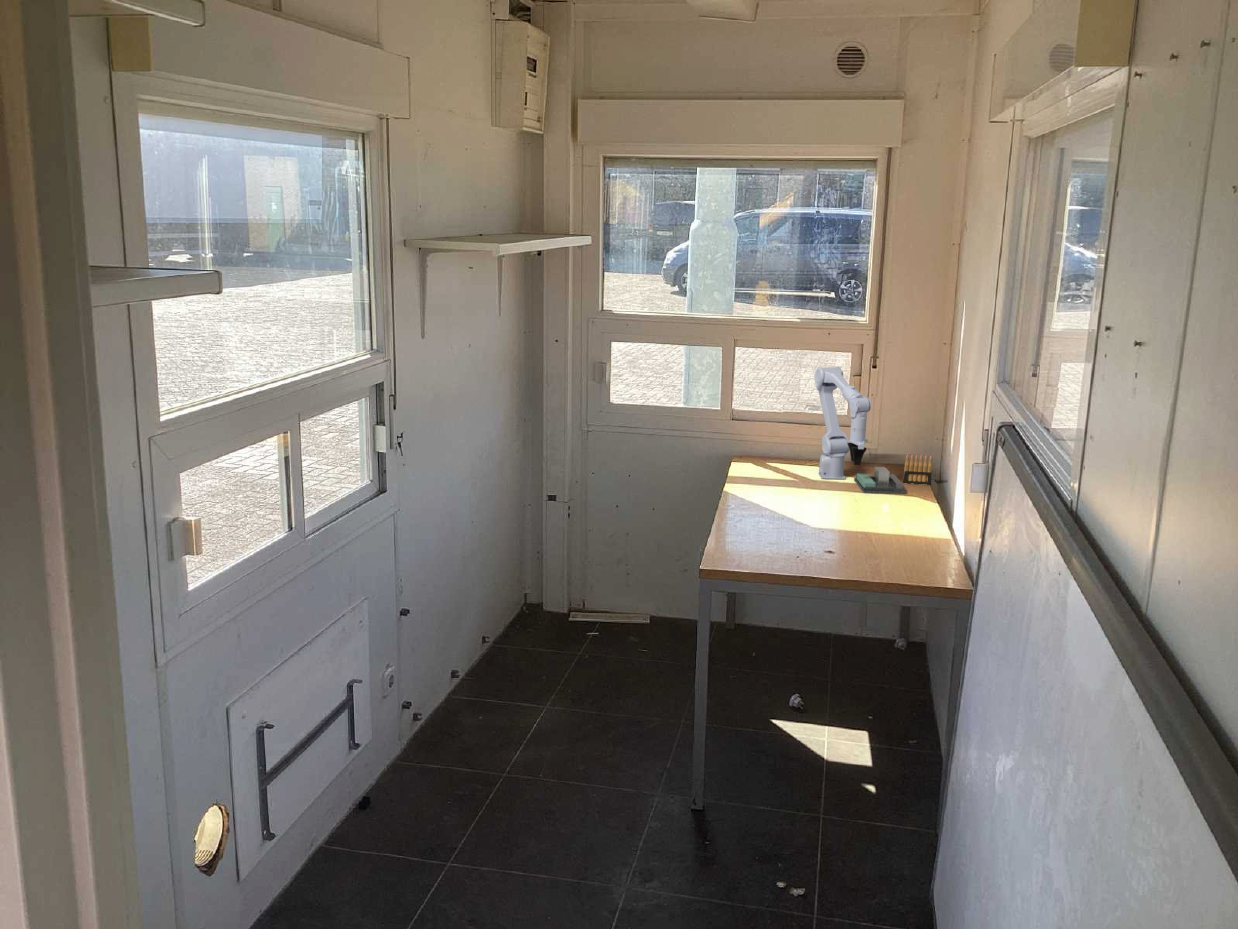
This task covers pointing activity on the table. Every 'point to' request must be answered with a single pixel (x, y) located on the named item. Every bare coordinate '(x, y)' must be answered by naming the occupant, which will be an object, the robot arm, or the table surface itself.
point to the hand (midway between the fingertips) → (855, 463)
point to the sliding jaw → (865, 480)
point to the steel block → (881, 477)
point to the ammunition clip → (917, 470)
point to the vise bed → (893, 487)
